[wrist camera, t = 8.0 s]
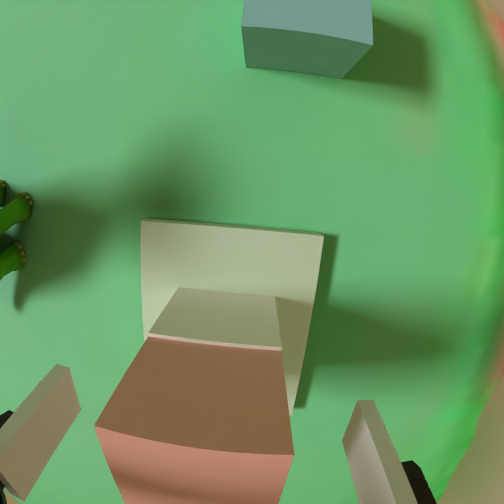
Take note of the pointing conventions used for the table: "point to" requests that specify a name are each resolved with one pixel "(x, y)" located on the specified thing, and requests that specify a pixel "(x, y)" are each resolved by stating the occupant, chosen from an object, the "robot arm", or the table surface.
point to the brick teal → (307, 35)
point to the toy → (4, 219)
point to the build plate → (231, 287)
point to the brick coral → (199, 425)
